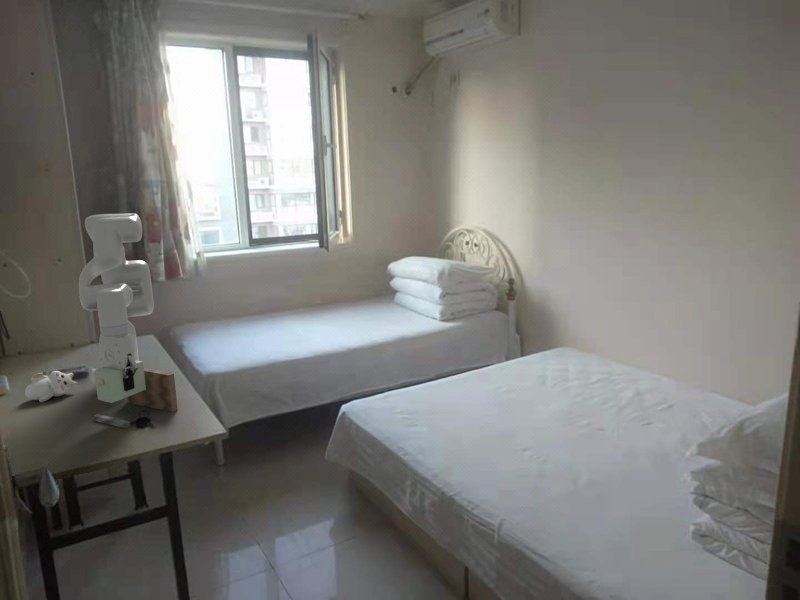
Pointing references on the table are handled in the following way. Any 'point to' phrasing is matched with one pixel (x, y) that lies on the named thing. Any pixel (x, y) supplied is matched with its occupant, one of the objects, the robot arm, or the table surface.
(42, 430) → the table surface
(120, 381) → the pale green block
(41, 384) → the cat figurine
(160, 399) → the brown piece
